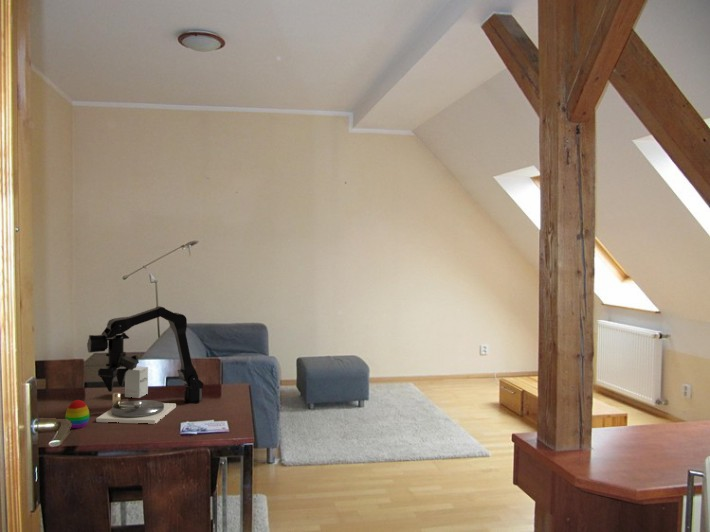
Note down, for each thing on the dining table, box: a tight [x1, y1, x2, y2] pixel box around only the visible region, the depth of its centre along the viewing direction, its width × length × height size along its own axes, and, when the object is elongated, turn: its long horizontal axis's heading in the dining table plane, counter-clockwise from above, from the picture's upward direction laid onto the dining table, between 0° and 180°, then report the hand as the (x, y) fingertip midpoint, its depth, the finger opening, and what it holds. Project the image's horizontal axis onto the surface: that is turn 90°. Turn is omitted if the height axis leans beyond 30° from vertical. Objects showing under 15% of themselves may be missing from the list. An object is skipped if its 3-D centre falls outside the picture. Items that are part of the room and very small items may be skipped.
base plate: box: [95, 401, 177, 425], centre depth 236 cm, size 23×23×2 cm
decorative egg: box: [64, 399, 90, 429], centre depth 219 cm, size 8×8×10 cm
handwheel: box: [110, 392, 164, 417], centre depth 235 cm, size 20×20×6 cm
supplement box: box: [124, 366, 149, 399], centre depth 263 cm, size 7×7×13 cm
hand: (115, 388), depth 235 cm, fingers open, 9 cm apart
